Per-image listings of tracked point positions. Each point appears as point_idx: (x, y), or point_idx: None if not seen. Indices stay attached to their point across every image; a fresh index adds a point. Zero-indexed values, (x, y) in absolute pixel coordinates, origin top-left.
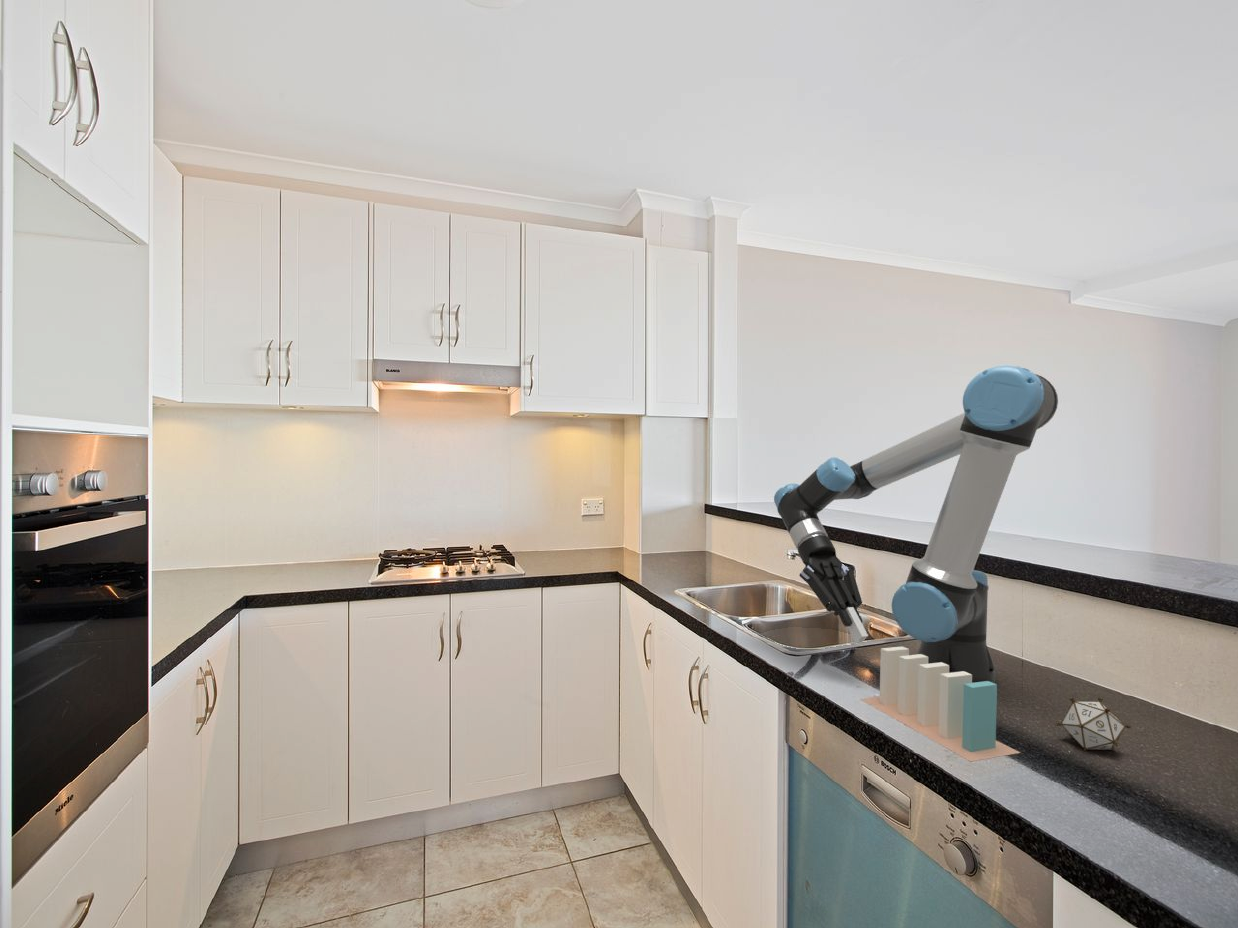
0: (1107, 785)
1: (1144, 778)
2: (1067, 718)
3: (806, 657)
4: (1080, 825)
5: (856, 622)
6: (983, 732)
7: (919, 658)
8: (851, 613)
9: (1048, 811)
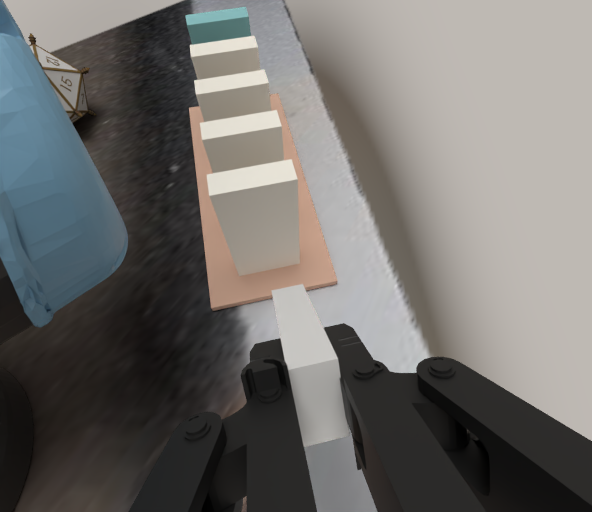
0: (150, 68)
1: (89, 77)
2: (68, 94)
3: None
4: (251, 28)
5: (305, 312)
6: None
7: (231, 119)
8: (319, 335)
9: (262, 41)
